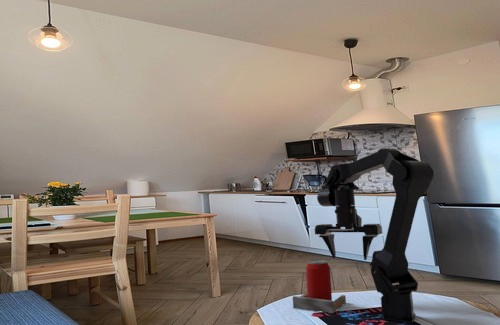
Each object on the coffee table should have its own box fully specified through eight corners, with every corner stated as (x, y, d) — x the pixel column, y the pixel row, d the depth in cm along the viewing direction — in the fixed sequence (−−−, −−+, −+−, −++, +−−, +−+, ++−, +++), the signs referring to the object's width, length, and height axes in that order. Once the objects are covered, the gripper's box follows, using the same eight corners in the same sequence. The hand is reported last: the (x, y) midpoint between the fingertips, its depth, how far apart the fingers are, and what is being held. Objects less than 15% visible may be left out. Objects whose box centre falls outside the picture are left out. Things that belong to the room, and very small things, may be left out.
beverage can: (330, 302, 96) (327, 259, 98) (333, 308, 90) (331, 262, 92) (307, 302, 97) (305, 259, 99) (308, 308, 90) (306, 263, 92)
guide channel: (345, 302, 95) (345, 291, 95) (332, 313, 86) (331, 301, 86) (309, 298, 101) (308, 287, 101) (293, 308, 92) (292, 296, 92)
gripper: (383, 204, 101) (388, 256, 99) (325, 206, 111) (329, 253, 109) (374, 204, 92) (380, 262, 90) (312, 207, 102) (315, 259, 100)
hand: (349, 259), depth 97 cm, fingers open, 9 cm apart
